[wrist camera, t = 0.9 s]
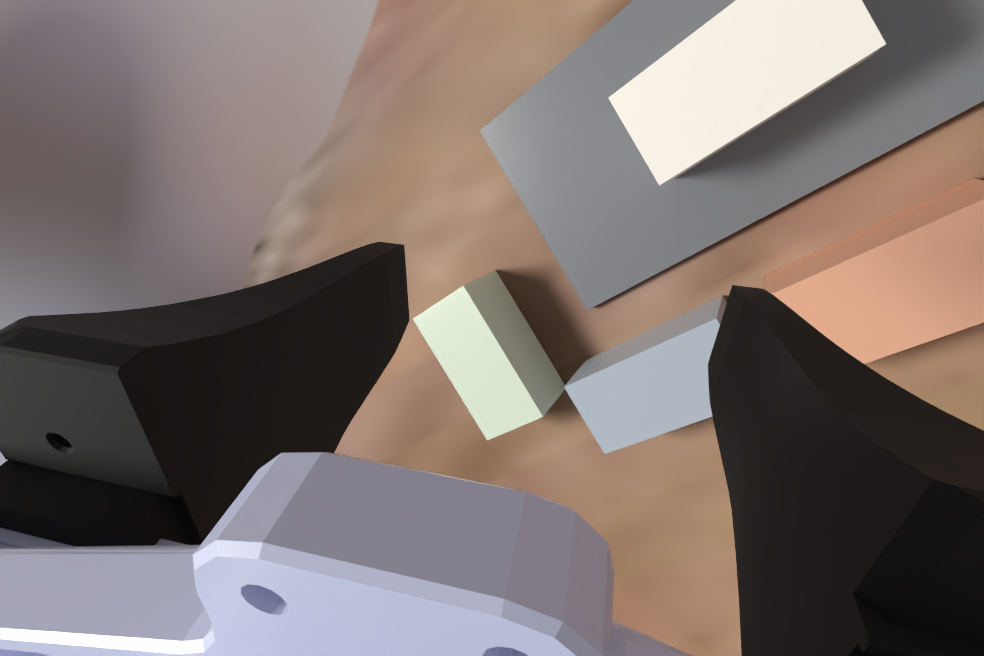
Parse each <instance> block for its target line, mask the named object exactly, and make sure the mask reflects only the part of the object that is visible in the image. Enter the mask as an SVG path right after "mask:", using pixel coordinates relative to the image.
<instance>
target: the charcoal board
mask: <svg viewBox="0 0 984 656" xmlns="http://www.w3.org/2000/svg"><path fill="white" fill-rule="evenodd" d="M734 1H735V0H633V1H632V2H631V3H630V4H629V5H627V6H626V7H625V8H624V9H623V10H621V11H620V12H619V13H618V14H617V15H616V16H614V17H613V18H612V19H611V20H610V21H609V22H607V23H606V24H605V25H604V26H603V27H602V28H600V29H599V30H598V31H597V32H596V33H595V34H593V35H592V36H591V37H590V38H589V39H587V40H586V41H585V42H584V43H583V44H582V45H580V46H579V47H578V48H577V49H576V50H575V51H573V52H572V53H571V54H570V55H569V56H568V57H566V58H565V59H564V60H563V61H562V62H560V63H559V64H558V65H557V66H556V67H555V68H553V69H552V70H551V71H550V72H549V73H548V74H546V75H545V76H544V77H543V78H542V79H541V80H539V81H538V82H537V83H536V84H535V85H534V86H532V87H531V88H530V89H529V90H528V91H526V92H525V93H524V94H523V95H522V96H521V97H519V98H518V99H517V100H516V101H515V102H514V103H512V104H511V105H510V106H509V107H508V108H507V109H505V110H504V111H503V112H502V113H501V114H499V115H498V116H497V117H496V118H495V119H494V120H492V121H491V122H490V123H489V124H488V125H487V126H485V127H484V128H483V129H482V130H481V131H480V132H481V133H482V135H483V137H484V138H485V140H486V142H487V143H488V145H489V147H490V149H491V150H492V152H493V154H494V155H495V157H496V159H497V160H498V162H499V164H500V165H501V167H502V169H503V170H504V172H505V174H506V175H507V177H508V179H509V180H510V182H511V184H512V185H513V187H514V189H515V190H516V192H517V194H518V195H519V197H520V199H521V201H522V202H523V204H524V206H525V207H526V209H527V211H528V212H529V214H530V216H531V217H532V219H533V221H534V222H535V224H536V226H537V227H538V229H539V231H540V232H541V234H542V236H543V237H544V239H545V241H546V242H547V244H548V246H549V247H550V249H551V251H552V253H553V254H554V256H555V258H556V259H557V261H558V263H559V264H560V266H561V268H562V269H563V271H564V273H565V274H566V276H567V278H568V279H569V281H570V283H571V284H572V286H573V288H574V289H575V291H576V293H577V294H578V296H579V298H580V299H581V301H582V303H583V305H584V306H585V308H586V310H589V309H591V308H593V307H595V306H596V305H598V304H600V303H602V302H604V301H606V300H608V299H610V298H612V297H613V296H615V295H617V294H619V293H621V292H623V291H625V290H627V289H629V288H631V287H632V286H634V285H636V284H638V283H640V282H642V281H644V280H646V279H648V278H649V277H651V276H653V275H655V274H657V273H659V272H661V271H663V270H665V269H666V268H668V267H670V266H672V265H674V264H676V263H678V262H680V261H682V260H684V259H685V258H687V257H689V256H691V255H693V254H695V253H697V252H699V251H701V250H702V249H704V248H706V247H708V246H710V245H712V244H714V243H716V242H718V241H720V240H721V239H723V238H725V237H727V236H729V235H731V234H733V233H735V232H737V231H738V230H740V229H742V228H744V227H746V226H748V225H750V224H752V223H754V222H755V221H757V220H759V219H761V218H763V217H765V216H767V215H769V214H771V213H773V212H774V211H776V210H778V209H780V208H782V207H784V206H786V205H788V204H790V203H791V202H793V201H795V200H797V199H799V198H801V197H803V196H805V195H807V194H808V193H810V192H812V191H814V190H816V189H818V188H820V187H822V186H824V185H826V184H827V183H829V182H831V181H833V180H835V179H837V178H839V177H841V176H843V175H844V174H846V173H848V172H850V171H852V170H854V169H856V168H858V167H860V166H861V165H863V164H865V163H867V162H869V161H871V160H873V159H875V158H877V157H879V156H880V155H882V154H884V153H886V152H888V151H890V150H892V149H894V148H896V147H897V146H899V145H901V144H903V143H905V142H907V141H909V140H911V139H913V138H914V137H916V136H918V135H920V134H922V133H924V132H926V131H928V130H930V129H932V128H933V127H935V126H937V125H939V124H941V123H943V122H945V121H947V120H949V119H950V118H952V117H954V116H956V115H958V114H960V113H962V112H964V111H966V110H967V109H969V108H971V107H973V106H975V105H977V104H979V103H981V102H983V101H984V0H862V1H863V3H864V5H865V7H866V9H867V10H868V12H869V14H870V16H871V18H872V19H873V21H874V23H875V25H876V27H877V28H878V30H879V32H880V34H881V35H882V37H883V39H884V41H885V43H886V45H884V46H883V47H882V48H880V49H879V50H878V51H877V52H875V53H874V54H873V55H872V56H870V57H869V58H868V59H866V60H865V61H863V62H862V63H860V64H858V65H857V66H855V67H854V68H852V69H850V70H849V71H847V72H846V73H844V74H842V75H841V76H839V77H837V78H836V79H834V80H833V81H831V82H829V83H828V84H826V85H825V86H823V87H821V88H820V89H818V90H817V91H815V92H813V93H812V94H810V95H809V96H807V97H805V98H804V99H802V100H800V101H799V102H797V103H796V104H794V105H792V106H791V107H789V108H788V109H786V110H784V111H783V112H781V113H780V114H778V115H776V116H775V117H773V118H771V119H770V120H768V121H767V122H765V123H763V124H762V125H760V126H759V127H757V128H755V129H754V130H752V131H751V132H749V133H747V134H746V135H744V136H742V137H741V138H739V139H738V140H736V141H734V142H733V143H731V144H730V145H728V146H726V147H725V148H723V149H722V150H720V151H718V152H717V153H715V154H714V155H712V156H710V157H709V158H707V159H705V160H704V161H702V162H701V163H699V164H697V165H696V166H694V167H693V168H691V169H689V170H688V171H686V172H685V173H683V174H681V175H680V176H678V177H676V178H675V179H673V180H671V181H668V182H666V183H664V184H662V185H659V184H658V182H657V181H656V179H655V177H654V176H653V174H652V172H651V170H650V169H649V167H648V165H647V164H646V162H645V160H644V158H643V157H642V155H641V153H640V152H639V150H638V148H637V147H636V145H635V143H634V141H633V140H632V138H631V136H630V135H629V133H628V131H627V129H626V128H625V126H624V124H623V123H622V121H621V119H620V117H619V116H618V114H617V112H616V111H615V109H614V107H613V105H612V104H611V102H610V100H609V99H608V98H609V97H610V96H611V95H612V94H614V93H615V92H616V91H618V90H619V89H620V88H622V87H623V86H624V85H626V84H627V83H628V82H629V81H631V80H632V79H633V78H635V77H636V76H637V75H639V74H640V73H641V72H643V71H644V70H645V69H646V68H648V67H649V66H650V65H652V64H653V63H654V62H656V61H657V60H658V59H660V58H661V57H662V56H663V55H665V54H666V53H667V52H669V51H670V50H671V49H673V48H674V47H675V46H677V45H678V44H679V43H681V42H682V41H683V40H684V39H686V38H687V37H688V36H690V35H691V34H692V33H694V32H695V31H696V30H698V29H699V28H700V27H701V26H703V25H704V24H705V23H707V22H708V21H709V20H711V19H712V18H713V17H715V16H716V15H717V14H718V13H720V12H721V11H722V10H724V9H725V8H726V7H728V6H729V5H730V4H732V3H733V2H734Z"/></svg>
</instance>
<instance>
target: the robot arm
mask: <svg viewBox="0 0 984 656" xmlns="http://www.w3.org/2000/svg"><path fill="white" fill-rule="evenodd" d="M408 322H409V307H408V293H407V279H406V265H405V251H404V245H401V244H393V243H385V242H377V243H372V244H369V245H366V246H363V247H360V248H357V249H354V250H352V251H349V252H347V253H344V254H342V255H339V256H336V257H334V258H331V259H329V260H326V261H324V262H321V263H319V264H316V265H314V266H311V267H309V268H306V269H303V270H300V271H297V272H295V273H292V274H289V275H286V276H283V277H281V278H278V279H275V280H272V281H269V282H266V283H263V284H259V285H256V286H252V287H249V288H245V289H241V290H237V291H234V292H230V293H226V294H222V295H217V296H212V297H207V298H202V299H196V300H191V301H186V302H181V303H175V304H170V305H163V306H155V307H148V308H141V309H131V310H122V311H112V312H100V313H83V314H66V315H45V316H29V317H25V318H22V319H20V320H18V321H16V322H14V323H12V324H10V325H8V326H7V327H5V328H3V329H1V330H0V451H1V453H2V454H3V456H4V457H5V459H7V460H8V461H6V462H5V463H4V464H2V465H1V466H0V656H692V655H690V654H687V653H685V652H683V651H681V650H678V649H676V648H674V647H672V646H669V645H667V644H665V643H663V642H660V641H658V640H656V639H654V638H652V637H649V636H647V635H645V634H643V633H640V632H638V631H636V630H634V629H631V628H629V627H627V626H625V625H622V624H620V623H618V622H616V621H614V620H612V611H613V584H614V572H613V566H612V561H611V556H610V550H609V545H608V542H607V541H606V540H605V539H604V538H603V537H602V536H601V535H600V534H599V533H598V532H597V531H596V530H594V529H593V528H592V527H591V526H590V525H589V524H588V523H587V522H586V521H585V520H584V519H583V518H582V517H581V516H580V515H579V514H578V513H577V512H575V511H574V510H573V509H571V508H569V507H566V506H564V505H561V504H558V503H556V502H553V501H551V500H548V499H545V498H543V497H540V496H538V495H535V494H532V493H530V492H527V491H522V490H517V489H512V488H507V487H502V486H496V485H491V484H486V483H481V482H476V481H471V480H466V479H461V478H456V477H451V476H446V475H441V474H436V473H430V472H425V471H420V470H415V469H410V468H405V467H400V466H395V465H390V464H385V463H380V462H375V461H370V460H364V459H359V458H354V457H349V456H344V455H339V454H334V452H335V450H336V448H337V446H338V444H339V442H340V440H341V438H342V436H343V434H344V432H345V431H346V429H347V427H348V425H349V424H350V422H351V420H352V419H353V417H354V416H355V414H356V413H357V411H358V409H359V408H360V406H361V405H362V403H363V402H364V400H365V399H366V397H367V396H368V394H369V393H370V391H371V390H372V388H373V386H374V385H375V383H376V382H377V380H378V379H379V377H380V376H381V374H382V373H383V371H384V369H385V368H386V366H387V365H388V363H389V362H390V360H391V358H392V357H393V355H394V353H395V352H396V350H397V347H398V345H399V343H400V341H401V339H402V336H403V334H404V332H405V329H406V327H407V324H408ZM708 382H709V398H710V406H711V411H712V416H713V421H714V425H715V430H716V435H717V439H718V444H719V449H720V453H721V458H722V462H723V467H724V471H725V476H726V480H727V485H728V490H729V496H730V502H731V508H732V517H733V528H734V538H735V549H736V562H737V576H738V590H739V606H740V628H741V649H742V656H984V431H983V430H981V429H979V428H977V427H975V426H973V425H971V424H969V423H967V422H965V421H962V420H960V419H958V418H956V417H954V416H952V415H950V414H948V413H946V412H944V411H942V410H940V409H938V408H937V407H935V406H933V405H931V404H929V403H927V402H925V401H924V400H922V399H920V398H918V397H916V396H915V395H913V394H911V393H910V392H908V391H906V390H905V389H903V388H901V387H899V386H898V385H896V384H894V383H893V382H891V381H889V380H888V379H886V378H884V377H883V376H881V375H880V374H878V373H877V372H875V371H873V370H872V369H870V368H869V367H867V366H866V365H865V364H863V363H862V362H860V361H859V360H857V359H856V358H855V357H853V356H852V355H850V354H849V353H847V352H846V351H844V350H843V349H842V348H840V347H839V346H838V345H836V344H835V343H834V342H832V341H831V340H830V339H828V338H827V337H826V336H824V335H823V334H822V333H821V332H819V331H818V330H817V329H816V328H814V327H813V326H812V325H810V324H809V323H808V322H807V321H805V320H804V319H803V318H802V317H801V316H799V315H798V314H797V313H796V312H794V311H793V310H792V309H791V308H789V307H788V306H787V305H786V304H784V303H783V302H782V301H780V300H779V299H778V298H777V297H775V296H774V295H772V294H771V293H770V292H768V291H766V290H765V289H759V288H751V287H743V286H735V285H732V288H731V292H730V295H729V298H728V301H727V304H726V308H725V311H724V314H723V317H722V320H721V323H720V327H719V330H718V333H717V336H716V339H715V343H714V346H713V349H712V352H711V355H710V359H709V362H708Z"/></svg>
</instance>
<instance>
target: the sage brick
mask: <svg viewBox="0 0 984 656" xmlns="http://www.w3.org/2000/svg"><path fill="white" fill-rule="evenodd" d="M413 320H414V322H415V323H416V325H417V327H418V328H419V330H420V331H421V333H422V335H423V336H424V338H425V340H426V341H427V343H428V344H429V346H430V348H431V349H432V351H433V353H434V354H435V356H436V358H437V359H438V361H439V362H440V364H441V366H442V367H443V369H444V371H445V372H446V374H447V375H448V377H449V379H450V380H451V382H452V384H453V385H454V387H455V388H456V390H457V392H458V393H459V395H460V397H461V398H462V400H463V402H464V403H465V405H466V406H467V408H468V410H469V411H470V413H471V415H472V416H473V418H474V419H475V421H476V423H477V424H478V426H479V428H480V429H481V431H482V432H483V434H484V436H485V437H486V439H487V440H489V439H492V438H494V437H496V436H499V435H501V434H503V433H506V432H508V431H511V430H513V429H515V428H518V427H520V426H522V425H525V424H527V423H529V422H532V421H534V420H536V419H539V418H541V417H543V416H544V415H545V414H546V412H547V411H548V410H549V409H550V407H551V406H552V405H553V404H554V402H555V401H556V400H557V399H558V397H559V396H560V395H561V394H562V393H563V391H564V390H565V388H564V386H565V384H564V383H563V381H562V379H561V378H560V376H559V374H558V373H557V371H556V369H555V368H554V366H553V364H552V363H551V361H550V359H549V358H548V356H547V354H546V353H545V351H544V349H543V348H542V346H541V344H540V343H539V341H538V339H537V338H536V336H535V335H534V333H533V331H532V330H531V328H530V326H529V325H528V323H527V321H526V320H525V318H524V316H523V315H522V313H521V311H520V310H519V308H518V306H517V305H516V303H515V301H514V300H513V298H512V296H511V295H510V293H509V291H508V290H507V288H506V286H505V285H504V283H503V281H502V280H501V278H500V276H499V275H498V273H497V272H496V270H494V271H492V272H490V273H488V274H486V275H484V276H482V277H480V278H478V279H476V280H474V281H472V282H470V283H468V284H466V285H464V286H462V287H461V288H459V289H458V290H456V291H455V292H453V293H452V294H450V295H448V296H447V297H445V298H444V299H442V300H441V301H439V302H438V303H436V304H435V305H433V306H432V307H430V308H429V309H427V310H426V311H424V312H423V313H421V314H420V315H418V316H417V317H415V318H414V319H413Z"/></svg>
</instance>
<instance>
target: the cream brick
mask: <svg viewBox="0 0 984 656" xmlns="http://www.w3.org/2000/svg"><path fill="white" fill-rule="evenodd" d="M884 45H886V43H885V41H884V39H883V37H882V35H881V34H880V32H879V30H878V28H877V27H876V25H875V23H874V21H873V19H872V18H871V16H870V14H869V12H868V10H867V9H866V7H865V5H864V3H863V1H862V0H735V1H734V2H733V3H732V4H730V5H729V6H728V7H726V8H725V9H724V10H722V11H721V12H720V13H718V14H717V15H716V16H715V17H713V18H712V19H711V20H709V21H708V22H707V23H705V24H704V25H703V26H701V27H700V28H699V29H698V30H696V31H695V32H694V33H692V34H691V35H690V36H688V37H687V38H686V39H684V40H683V41H682V42H681V43H679V44H678V45H677V46H675V47H674V48H673V49H671V50H670V51H669V52H667V53H666V54H665V55H663V56H662V57H661V58H660V59H658V60H657V61H656V62H654V63H653V64H652V65H650V66H649V67H648V68H646V69H645V70H644V71H643V72H641V73H640V74H639V75H637V76H636V77H635V78H633V79H632V80H631V81H629V82H628V83H627V84H626V85H624V86H623V87H622V88H620V89H619V90H618V91H616V92H615V93H614V94H612V95H611V96H610V97H609V98H608V99H609V100H610V102H611V104H612V105H613V107H614V109H615V111H616V112H617V114H618V116H619V117H620V119H621V121H622V123H623V124H624V126H625V128H626V129H627V131H628V133H629V135H630V136H631V138H632V140H633V141H634V143H635V145H636V147H637V148H638V150H639V152H640V153H641V155H642V157H643V158H644V160H645V162H646V164H647V165H648V167H649V169H650V170H651V172H652V174H653V176H654V177H655V179H656V181H657V182H658V184H659V185H662V184H664V183H666V182H668V181H671V180H673V179H675V178H676V177H678V176H680V175H681V174H683V173H685V172H686V171H688V170H689V169H691V168H693V167H694V166H696V165H697V164H699V163H701V162H702V161H704V160H705V159H707V158H709V157H710V156H712V155H714V154H715V153H717V152H718V151H720V150H722V149H723V148H725V147H726V146H728V145H730V144H731V143H733V142H734V141H736V140H738V139H739V138H741V137H742V136H744V135H746V134H747V133H749V132H751V131H752V130H754V129H755V128H757V127H759V126H760V125H762V124H763V123H765V122H767V121H768V120H770V119H771V118H773V117H775V116H776V115H778V114H780V113H781V112H783V111H784V110H786V109H788V108H789V107H791V106H792V105H794V104H796V103H797V102H799V101H800V100H802V99H804V98H805V97H807V96H809V95H810V94H812V93H813V92H815V91H817V90H818V89H820V88H821V87H823V86H825V85H826V84H828V83H829V82H831V81H833V80H834V79H836V78H837V77H839V76H841V75H842V74H844V73H846V72H847V71H849V70H850V69H852V68H854V67H855V66H857V65H858V64H860V63H862V62H863V61H865V60H866V59H868V58H869V57H870V56H872V55H873V54H874V53H875V52H877V51H878V50H879V49H880V48H882V47H883V46H884Z"/></svg>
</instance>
